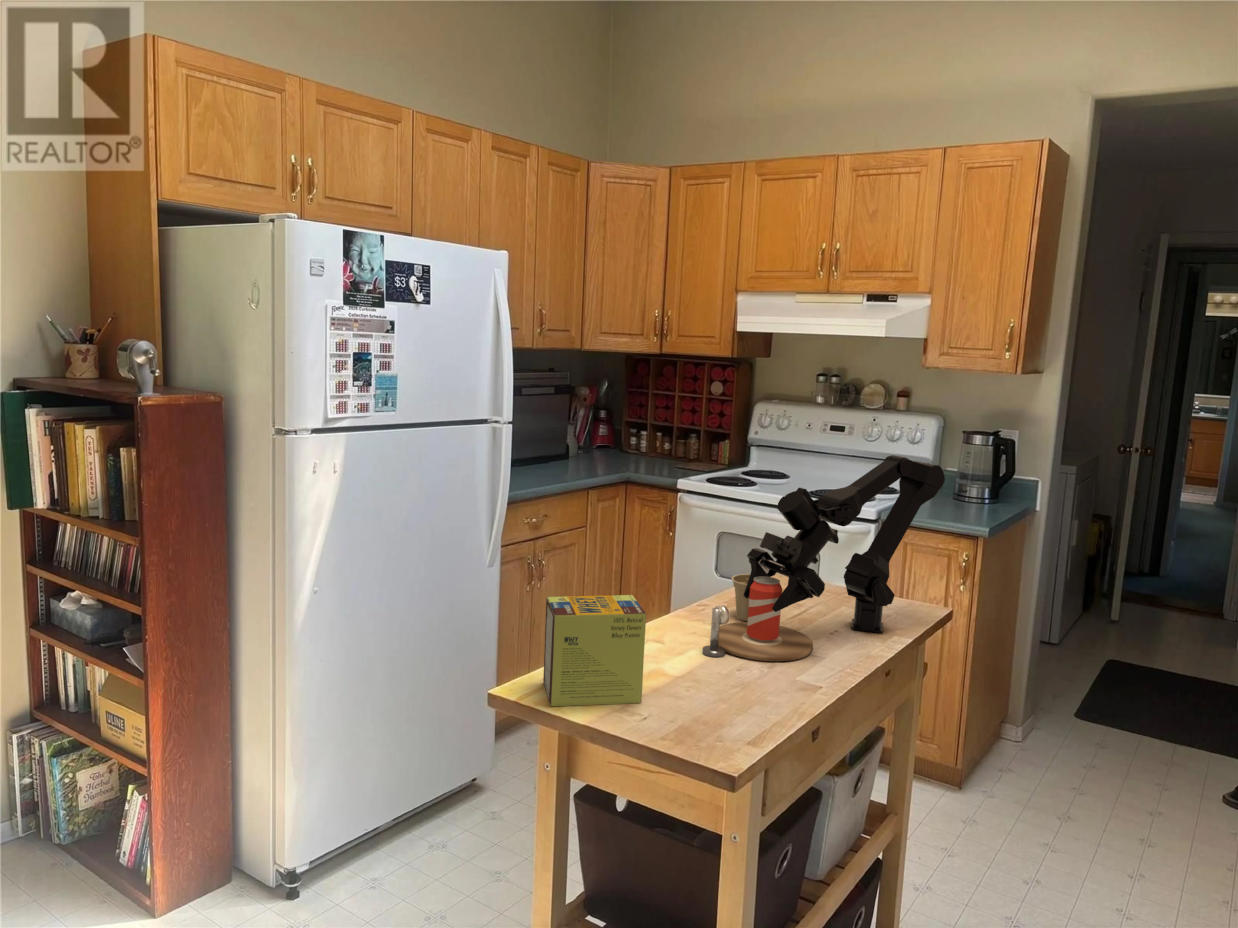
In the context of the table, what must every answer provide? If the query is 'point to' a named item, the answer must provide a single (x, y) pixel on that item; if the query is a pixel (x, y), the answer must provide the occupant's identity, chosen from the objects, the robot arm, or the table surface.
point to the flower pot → (741, 595)
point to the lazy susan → (764, 644)
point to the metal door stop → (716, 632)
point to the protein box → (594, 650)
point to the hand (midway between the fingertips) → (758, 603)
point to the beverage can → (764, 609)
